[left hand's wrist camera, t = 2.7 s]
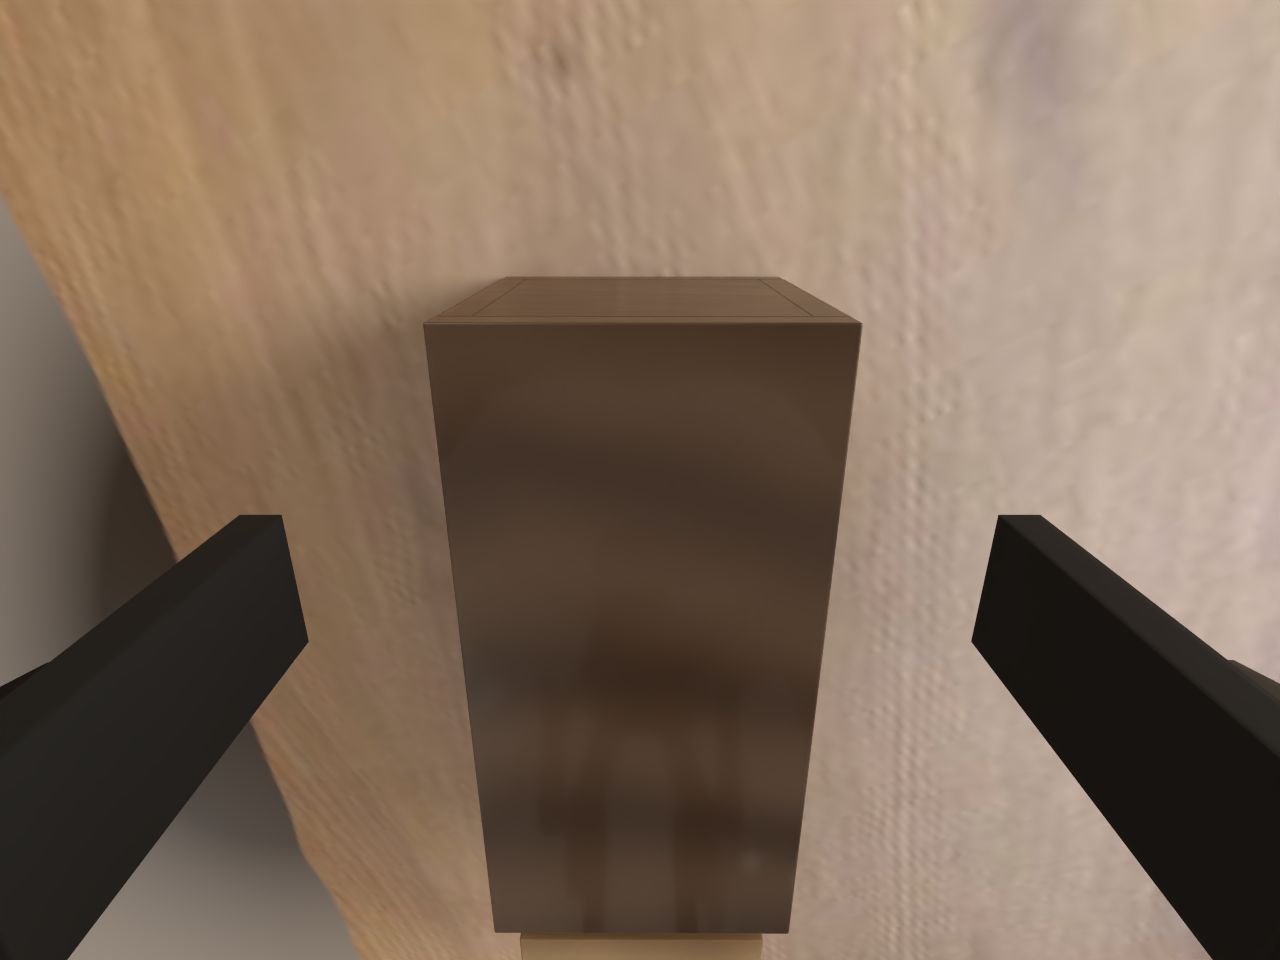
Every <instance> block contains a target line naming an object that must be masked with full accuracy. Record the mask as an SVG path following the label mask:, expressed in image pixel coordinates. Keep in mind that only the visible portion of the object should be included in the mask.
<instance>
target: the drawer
mask: <svg viewBox="0 0 1280 960" xmlns="http://www.w3.org/2000/svg"><path fill="white" fill-rule="evenodd" d="M520 945H521V955H522V960H761V957H762V947H763V937H762V933H521V937H520Z"/></svg>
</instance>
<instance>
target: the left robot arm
mask: <svg viewBox="0 0 1280 960" xmlns="http://www.w3.org/2000/svg"><path fill="white" fill-rule="evenodd" d="M308 642H309V641H308V636H307V631H306V627H305V622H304V617H303V613H302V608H301V603H300V599H299V594H298V589H297V585H296V580H295V575H294V571H293V566H292V562H291V557H290V552H289V548H288V543H287V538H286V534H285V529H284V524H283V520H282V515H239V516H238V517H236V518H235V519H234V520H233V521H231V522H230V523H229V524H227V525H226V526H225V527H224V528H222V529H221V530H220V531H218V532H217V533H216V534H214V535H213V536H212V537H211V538H209V539H208V540H207V541H205V542H204V543H203V544H202V545H200V546H199V547H198V548H196V549H195V550H194V551H193V552H191V553H190V554H189V555H187V556H186V557H185V558H184V559H182V560H181V561H180V562H178V563H177V564H176V565H174V566H173V567H172V568H171V569H169V570H168V571H167V572H165V573H164V574H163V575H162V576H160V577H159V578H158V579H156V580H155V581H154V582H153V583H151V584H150V585H149V586H147V587H146V588H145V589H144V590H142V591H141V592H140V593H138V594H137V595H136V596H134V597H133V598H132V599H131V600H129V601H128V602H127V603H125V604H124V605H123V606H122V607H120V608H119V609H118V610H116V611H115V612H114V613H113V614H111V615H110V616H109V617H107V618H106V619H105V620H104V621H102V622H101V623H100V624H98V625H97V626H96V627H94V628H93V629H92V630H91V631H89V632H88V633H87V634H85V635H84V636H83V637H82V638H80V639H79V640H78V641H76V642H75V643H74V644H73V645H71V646H70V647H69V648H67V649H66V650H65V651H63V652H62V653H61V654H60V655H58V656H57V657H56V658H54V659H53V660H52V661H51V662H49V663H46V664H44V665H42V666H40V667H38V668H36V669H34V670H32V671H30V672H28V673H26V674H24V675H22V676H20V677H18V678H16V679H15V680H13V681H11V682H9V683H7V684H5V685H3V686H1V687H0V960H67V959H68V958H69V957H70V955H71V954H72V953H73V951H74V950H75V949H76V947H77V946H78V945H79V943H80V942H81V941H82V940H83V938H84V937H85V936H86V934H87V933H88V932H89V930H90V929H91V928H92V926H93V925H94V924H95V922H96V921H97V920H98V918H99V917H100V916H101V914H102V913H103V912H104V911H105V909H106V908H107V907H108V905H109V904H110V903H111V901H112V900H113V899H114V897H115V896H116V895H117V893H118V892H119V891H120V889H121V888H122V887H123V886H124V884H125V883H126V882H127V880H128V879H129V878H130V876H131V875H132V874H133V872H134V871H135V870H136V868H137V867H138V866H139V864H140V863H141V862H142V860H143V859H144V858H145V856H146V855H147V854H148V853H149V851H150V850H151V849H152V847H153V846H154V845H155V843H156V842H157V841H158V839H159V838H160V837H161V835H162V834H163V833H164V831H165V830H166V829H167V828H168V826H169V825H170V824H171V822H172V821H173V820H174V818H175V817H176V816H177V814H178V813H179V812H180V810H181V809H182V808H183V806H184V805H185V804H186V802H187V801H188V800H189V799H190V797H191V796H192V795H193V793H194V792H195V791H196V789H197V788H198V787H199V785H200V784H201V783H202V781H203V780H204V779H205V777H206V776H207V775H208V773H209V772H210V771H211V770H212V768H213V767H214V766H215V764H216V763H217V762H218V760H219V759H220V758H221V756H222V755H223V754H224V752H225V751H226V750H227V748H228V747H229V746H230V745H231V743H232V742H233V741H234V739H235V738H236V737H237V735H238V734H239V733H240V731H241V730H242V729H243V727H244V726H245V725H246V723H247V722H248V721H249V719H250V718H251V717H252V716H253V714H254V713H255V712H256V710H257V709H258V708H259V706H260V705H261V704H262V702H263V701H264V700H265V698H266V697H267V696H268V694H269V693H270V692H271V690H272V689H273V688H274V687H275V685H276V684H277V683H278V681H279V680H280V679H281V677H282V676H283V675H284V673H285V672H286V671H287V669H288V668H289V667H290V665H291V664H292V663H293V661H294V660H295V659H296V658H297V656H298V655H299V654H300V652H301V651H302V650H303V648H304V647H305V646H306V644H307V643H308ZM971 642H972V643H973V644H974V646H975V647H976V648H977V650H978V651H979V652H980V654H981V655H982V656H983V658H984V659H985V660H986V661H987V663H988V664H989V665H990V667H991V668H992V669H993V671H994V672H995V673H996V675H997V676H998V677H999V679H1000V680H1001V681H1002V683H1003V684H1004V685H1005V687H1006V688H1007V689H1008V690H1009V692H1010V693H1011V694H1012V696H1013V697H1014V698H1015V700H1016V701H1017V702H1018V704H1019V705H1020V706H1021V708H1022V709H1023V710H1024V712H1025V713H1026V714H1027V716H1028V717H1029V718H1030V719H1031V721H1032V722H1033V723H1034V725H1035V726H1036V727H1037V729H1038V730H1039V731H1040V733H1041V734H1042V735H1043V737H1044V738H1045V739H1046V741H1047V742H1048V743H1049V745H1050V746H1051V747H1052V748H1053V750H1054V751H1055V752H1056V754H1057V755H1058V756H1059V758H1060V759H1061V760H1062V762H1063V763H1064V764H1065V766H1066V767H1067V768H1068V770H1069V771H1070V772H1071V773H1072V775H1073V776H1074V777H1075V779H1076V780H1077V781H1078V783H1079V784H1080V785H1081V787H1082V788H1083V789H1084V791H1085V792H1086V793H1087V795H1088V796H1089V797H1090V799H1091V800H1092V801H1093V802H1094V804H1095V805H1096V806H1097V808H1098V809H1099V810H1100V812H1101V813H1102V814H1103V816H1104V817H1105V818H1106V820H1107V821H1108V822H1109V824H1110V825H1111V826H1112V828H1113V829H1114V830H1115V831H1116V833H1117V834H1118V835H1119V837H1120V838H1121V839H1122V841H1123V842H1124V843H1125V845H1126V846H1127V847H1128V849H1129V850H1130V851H1131V853H1132V854H1133V855H1134V857H1135V858H1136V859H1137V860H1138V862H1139V863H1140V864H1141V866H1142V867H1143V868H1144V870H1145V871H1146V872H1147V874H1148V875H1149V876H1150V878H1151V879H1152V880H1153V882H1154V883H1155V884H1156V886H1157V887H1158V888H1159V889H1160V891H1161V892H1162V893H1163V895H1164V896H1165V897H1166V899H1167V900H1168V901H1169V903H1170V904H1171V905H1172V907H1173V908H1174V909H1175V911H1176V912H1177V913H1178V915H1179V916H1180V917H1181V918H1182V920H1183V921H1184V922H1185V924H1186V925H1187V926H1188V928H1189V929H1190V930H1191V932H1192V933H1193V934H1194V936H1195V937H1196V938H1197V940H1198V941H1199V942H1200V944H1201V945H1202V946H1203V947H1204V949H1205V950H1206V951H1207V953H1208V954H1209V955H1210V957H1211V958H1212V959H1213V960H1280V684H1279V683H1277V682H1275V681H1273V680H1271V679H1269V678H1267V677H1265V676H1264V675H1262V674H1260V673H1258V672H1256V671H1254V670H1252V669H1250V668H1248V667H1246V666H1244V665H1242V664H1240V663H1238V662H1236V661H1234V660H1227V659H1226V658H1224V657H1223V656H1222V655H1220V654H1219V653H1218V652H1217V651H1215V650H1214V649H1213V648H1211V647H1210V646H1209V645H1207V644H1206V643H1205V642H1204V641H1202V640H1201V639H1200V638H1198V637H1197V636H1196V635H1195V634H1193V633H1192V632H1191V631H1189V630H1188V629H1187V628H1186V627H1184V626H1183V625H1182V624H1180V623H1179V622H1178V621H1177V620H1175V619H1174V618H1173V617H1171V616H1170V615H1169V614H1167V613H1166V612H1165V611H1164V610H1162V609H1161V608H1160V607H1158V606H1157V605H1156V604H1155V603H1153V602H1152V601H1151V600H1149V599H1148V598H1147V597H1146V596H1144V595H1143V594H1142V593H1140V592H1139V591H1138V590H1137V589H1135V588H1134V587H1133V586H1131V585H1130V584H1129V583H1127V582H1126V581H1125V580H1124V579H1122V578H1121V577H1120V576H1118V575H1117V574H1116V573H1115V572H1113V571H1112V570H1111V569H1109V568H1108V567H1107V566H1106V565H1104V564H1103V563H1102V562H1100V561H1099V560H1098V559H1096V558H1095V557H1094V556H1093V555H1091V554H1090V553H1089V552H1087V551H1086V550H1085V549H1084V548H1082V547H1081V546H1080V545H1078V544H1077V543H1076V542H1075V541H1073V540H1072V539H1071V538H1069V537H1068V536H1067V535H1066V534H1064V533H1063V532H1062V531H1060V530H1059V529H1058V528H1056V527H1055V526H1054V525H1053V524H1051V523H1050V522H1049V521H1047V520H1046V519H1045V518H1044V517H1042V516H1041V515H998V520H997V524H996V529H995V534H994V538H993V543H992V548H991V552H990V557H989V562H988V566H987V571H986V575H985V580H984V585H983V589H982V594H981V599H980V603H979V608H978V613H977V617H976V622H975V627H974V631H973V636H972V641H971Z"/></svg>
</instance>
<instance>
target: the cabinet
mask: <svg viewBox="0 0 1280 960" xmlns="http://www.w3.org/2000/svg"><path fill="white" fill-rule="evenodd" d="M423 326H424V335H425V343H426V352H427V360H428V369H429V377H430V386H431V394H432V403H433V411H434V420H435V428H436V437H437V445H438V454H439V462H440V471H441V479H442V488H443V496H444V505H445V513H446V522H447V530H448V539H449V547H450V556H451V564H452V573H453V581H454V590H455V598H456V607H457V615H458V624H459V632H460V641H461V649H462V658H463V666H464V675H465V683H466V692H467V700H468V709H469V717H470V726H471V734H472V743H473V751H474V760H475V768H476V777H477V785H478V794H479V802H480V811H481V819H482V828H483V836H484V844H485V853H486V861H487V870H488V878H489V887H490V895H491V904H492V912H493V921H494V929H495V932H496V933H775V934H787V933H788V932H789V924H790V916H791V908H792V900H793V892H794V883H795V875H796V867H797V859H798V851H799V842H800V834H801V826H802V818H803V810H804V801H805V793H806V785H807V777H808V769H809V760H810V752H811V744H812V736H813V728H814V719H815V711H816V703H817V695H818V687H819V679H820V670H821V662H822V654H823V646H824V638H825V629H826V621H827V613H828V605H829V597H830V588H831V580H832V572H833V564H834V556H835V547H836V539H837V531H838V523H839V515H840V506H841V498H842V490H843V482H844V474H845V465H846V457H847V449H848V441H849V433H850V424H851V416H852V408H853V400H854V392H855V383H856V375H857V367H858V359H859V351H860V343H861V334H862V326H863V324H862V323H861V322H859V321H857V320H855V319H854V318H852V317H850V316H848V315H847V314H845V313H843V312H841V311H839V310H838V309H836V308H834V307H832V306H831V305H829V304H827V303H825V302H823V301H822V300H820V299H818V298H816V297H814V296H813V295H811V294H809V293H807V292H806V291H804V290H802V289H800V288H798V287H797V286H795V285H793V284H791V283H789V282H788V281H786V280H783V279H782V278H780V277H505V278H503V279H501V280H499V281H498V282H496V283H494V284H492V285H491V286H489V287H487V288H485V289H483V290H482V291H480V292H478V293H476V294H475V295H473V296H471V297H469V298H468V299H466V300H464V301H462V302H460V303H459V304H457V305H455V306H453V307H452V308H450V309H448V310H446V311H444V312H443V313H441V314H439V315H437V316H436V317H433V318H431V319H430V320H428V321H426V322H424V324H423Z"/></svg>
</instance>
